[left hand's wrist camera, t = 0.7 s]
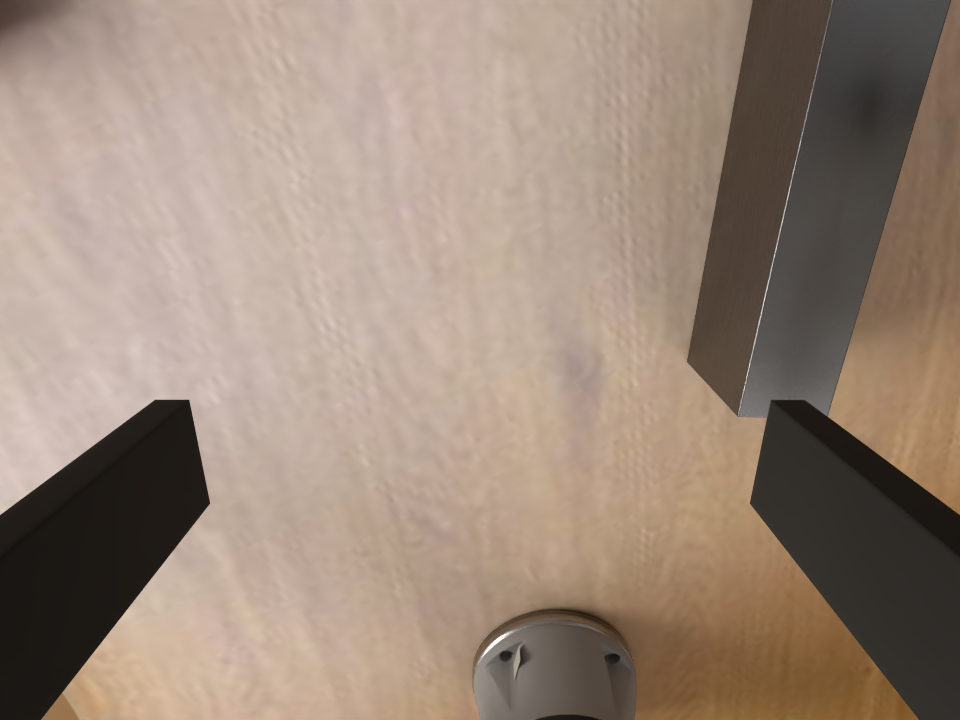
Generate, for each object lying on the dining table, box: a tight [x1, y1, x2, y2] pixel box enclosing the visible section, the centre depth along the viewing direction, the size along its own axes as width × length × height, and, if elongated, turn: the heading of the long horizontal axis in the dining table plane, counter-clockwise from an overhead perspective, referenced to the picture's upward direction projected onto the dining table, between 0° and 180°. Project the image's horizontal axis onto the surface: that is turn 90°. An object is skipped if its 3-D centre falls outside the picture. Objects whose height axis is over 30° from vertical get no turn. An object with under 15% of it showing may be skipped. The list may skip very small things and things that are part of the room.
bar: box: [687, 0, 951, 417], centre depth 32 cm, size 26×5×9 cm, turn 178°
